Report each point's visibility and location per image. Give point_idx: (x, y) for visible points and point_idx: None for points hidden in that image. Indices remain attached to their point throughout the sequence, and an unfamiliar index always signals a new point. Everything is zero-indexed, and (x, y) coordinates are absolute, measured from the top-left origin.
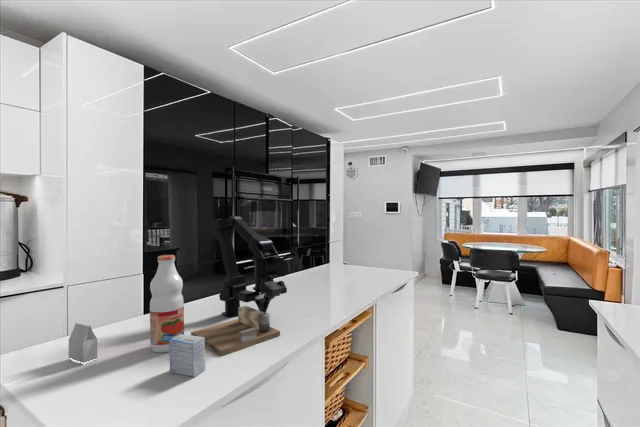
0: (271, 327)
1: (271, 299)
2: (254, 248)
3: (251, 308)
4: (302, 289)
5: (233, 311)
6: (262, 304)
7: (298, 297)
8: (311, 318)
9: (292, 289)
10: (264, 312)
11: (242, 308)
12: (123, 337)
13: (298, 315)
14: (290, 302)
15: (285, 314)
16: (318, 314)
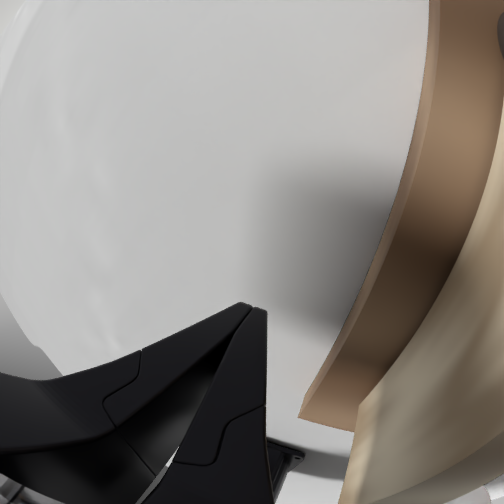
0: (442, 25)
1: (5, 376)
2: None
3: (443, 479)
4: (14, 313)
5: (276, 467)
6: (238, 468)
7: (21, 296)
8: (50, 56)
9: (29, 337)
10: (237, 328)
11: (440, 502)
12: (501, 482)
13: (51, 151)
14: (39, 299)
15: (80, 232)
16: (20, 88)
